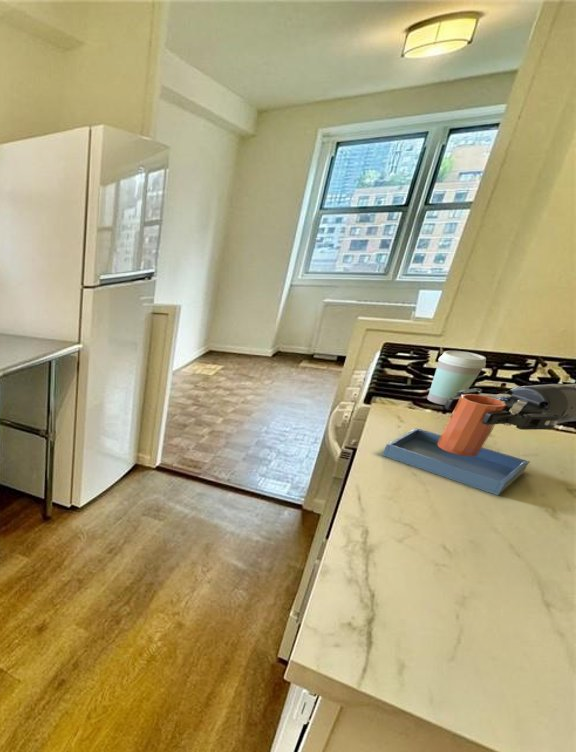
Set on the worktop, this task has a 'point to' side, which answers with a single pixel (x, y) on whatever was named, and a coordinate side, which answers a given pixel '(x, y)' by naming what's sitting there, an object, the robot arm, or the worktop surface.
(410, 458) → the tray
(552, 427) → the robot arm
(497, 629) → the worktop surface
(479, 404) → the tumbler
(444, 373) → the coffee cup
